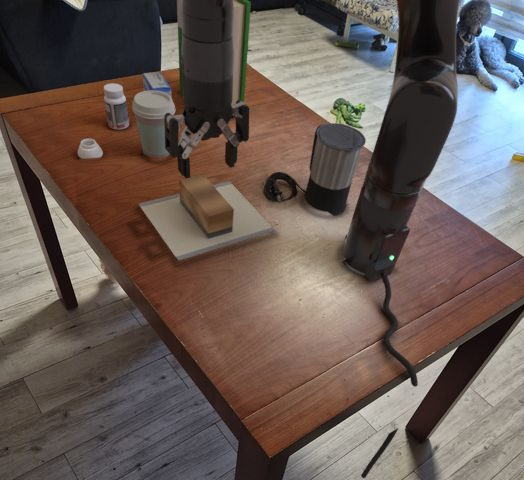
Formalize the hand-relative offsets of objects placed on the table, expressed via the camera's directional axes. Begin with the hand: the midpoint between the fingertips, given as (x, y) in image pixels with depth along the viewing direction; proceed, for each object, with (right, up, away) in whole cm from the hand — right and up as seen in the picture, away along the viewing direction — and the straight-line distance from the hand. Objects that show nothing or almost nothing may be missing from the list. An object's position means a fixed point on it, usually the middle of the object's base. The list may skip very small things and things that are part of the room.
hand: (208, 170), depth 81 cm
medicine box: (-15, +24, +31) cm, 42 cm away
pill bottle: (-24, +21, +27) cm, 42 cm away
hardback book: (-4, +31, +38) cm, 49 cm away
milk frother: (+18, 0, +17) cm, 25 cm away
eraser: (-1, -6, +8) cm, 10 cm away
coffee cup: (-14, +11, +21) cm, 28 cm away
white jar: (-27, +10, +19) cm, 34 cm away
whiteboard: (-1, -7, +9) cm, 11 cm away
